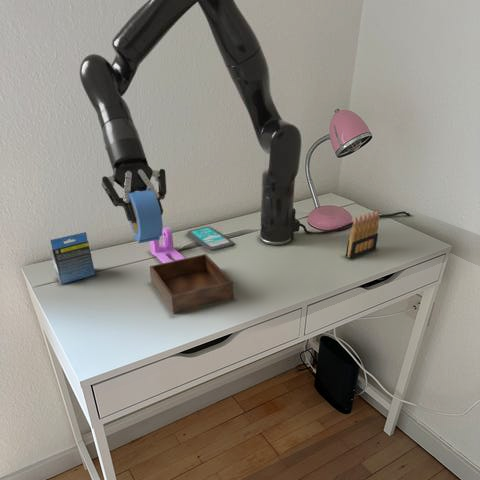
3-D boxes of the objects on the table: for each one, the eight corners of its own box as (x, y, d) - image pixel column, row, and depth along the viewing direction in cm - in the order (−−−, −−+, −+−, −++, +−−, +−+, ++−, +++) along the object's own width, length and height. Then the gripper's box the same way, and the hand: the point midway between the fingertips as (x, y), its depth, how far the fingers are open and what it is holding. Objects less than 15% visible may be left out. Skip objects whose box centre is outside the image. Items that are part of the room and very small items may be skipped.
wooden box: (206, 270, 123) (205, 253, 120) (233, 299, 111) (233, 281, 108) (151, 283, 117) (149, 266, 114) (173, 315, 105) (171, 297, 102)
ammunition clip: (350, 259, 128) (356, 218, 121) (345, 256, 129) (351, 216, 122) (375, 249, 133) (383, 209, 126) (370, 247, 134) (378, 207, 128)
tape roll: (150, 227, 106) (145, 183, 100) (164, 244, 98) (160, 198, 93) (129, 231, 104) (123, 186, 98) (142, 249, 97) (136, 202, 91)
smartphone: (210, 249, 130) (185, 231, 141) (210, 252, 131) (185, 234, 141) (235, 242, 134) (209, 225, 144) (235, 245, 135) (209, 228, 145)
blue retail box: (91, 269, 123) (82, 226, 116) (95, 275, 120) (86, 231, 113) (57, 278, 119) (45, 234, 112) (61, 285, 116) (49, 240, 109)
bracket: (150, 252, 131) (147, 229, 127) (168, 247, 134) (166, 225, 130) (170, 271, 122) (168, 247, 118) (189, 265, 125) (187, 242, 121)
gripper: (90, 140, 93) (114, 217, 91) (158, 133, 98) (182, 206, 96) (89, 160, 100) (111, 232, 98) (153, 152, 105) (175, 221, 103)
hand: (146, 219), depth 97 cm, fingers closed on tape roll, 5 cm apart
